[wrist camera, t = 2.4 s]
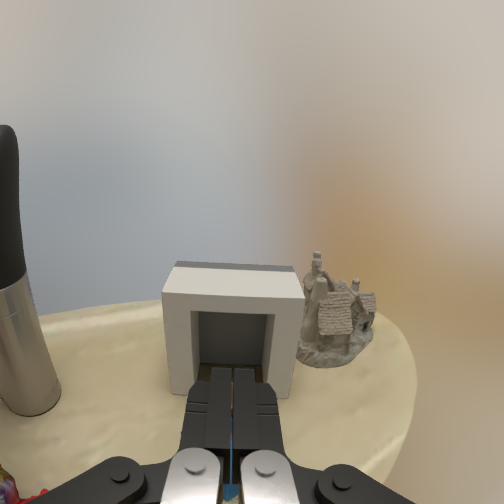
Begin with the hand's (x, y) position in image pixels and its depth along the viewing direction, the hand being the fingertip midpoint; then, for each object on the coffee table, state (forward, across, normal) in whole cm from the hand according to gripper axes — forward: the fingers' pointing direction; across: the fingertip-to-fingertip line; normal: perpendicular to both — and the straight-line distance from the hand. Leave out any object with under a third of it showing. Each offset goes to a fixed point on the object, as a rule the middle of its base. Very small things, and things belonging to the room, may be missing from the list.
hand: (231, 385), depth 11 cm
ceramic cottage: (+34, -17, +22) cm, 44 cm away
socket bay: (+24, 0, +22) cm, 32 cm away
